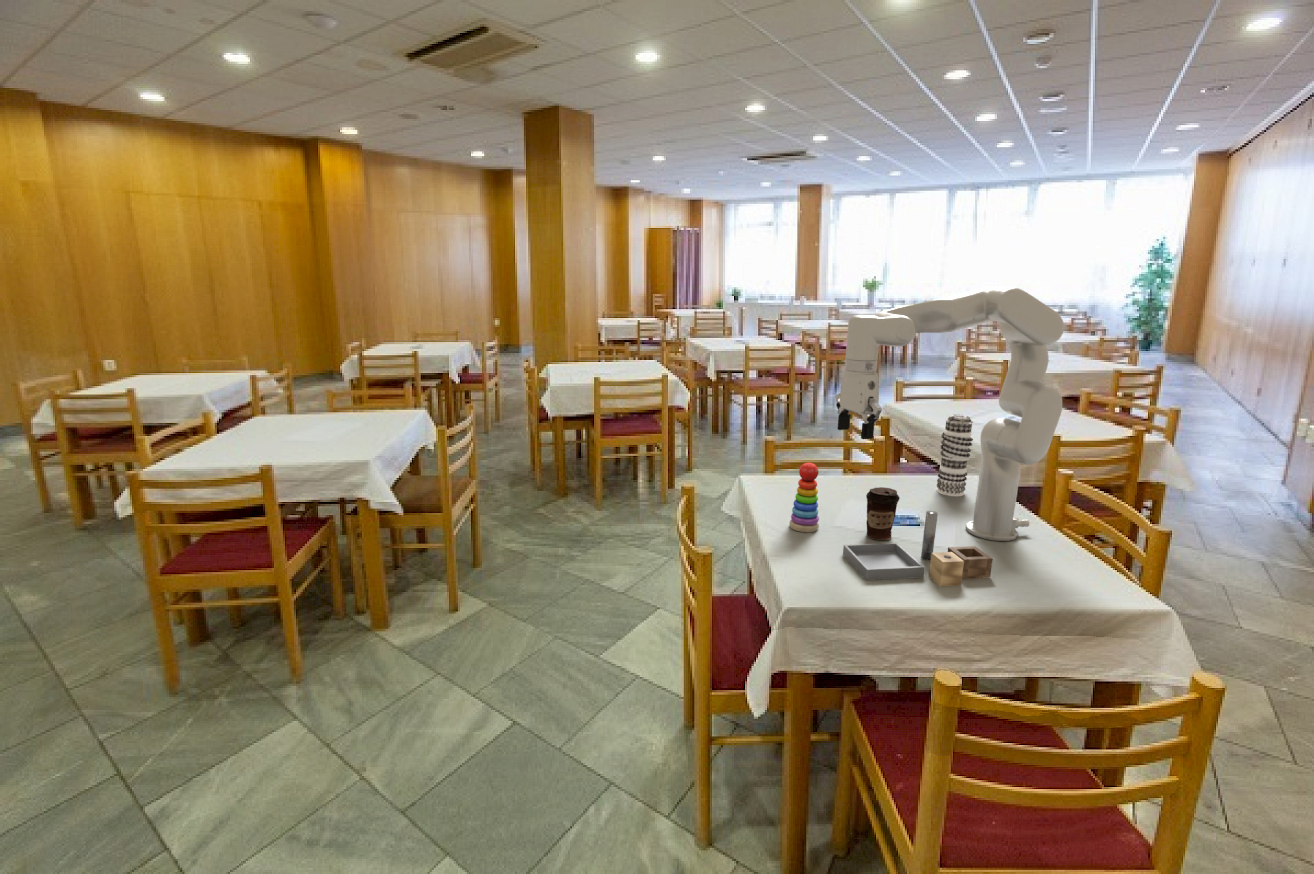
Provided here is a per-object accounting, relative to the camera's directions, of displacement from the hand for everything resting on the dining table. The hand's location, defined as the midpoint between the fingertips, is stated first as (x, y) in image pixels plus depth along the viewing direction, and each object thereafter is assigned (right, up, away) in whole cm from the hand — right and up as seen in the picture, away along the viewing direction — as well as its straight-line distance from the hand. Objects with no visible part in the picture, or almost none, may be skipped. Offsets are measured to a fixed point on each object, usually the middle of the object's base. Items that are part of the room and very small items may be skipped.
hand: (854, 434), depth 167 cm
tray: (+5, -32, -7) cm, 33 cm away
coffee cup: (+10, -28, +11) cm, 31 cm away
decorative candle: (+45, -19, +47) cm, 67 cm away
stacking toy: (-9, -26, +16) cm, 32 cm away
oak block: (+17, -34, -14) cm, 40 cm away
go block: (+24, -33, -9) cm, 42 cm away
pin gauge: (+17, -31, -2) cm, 35 cm away
